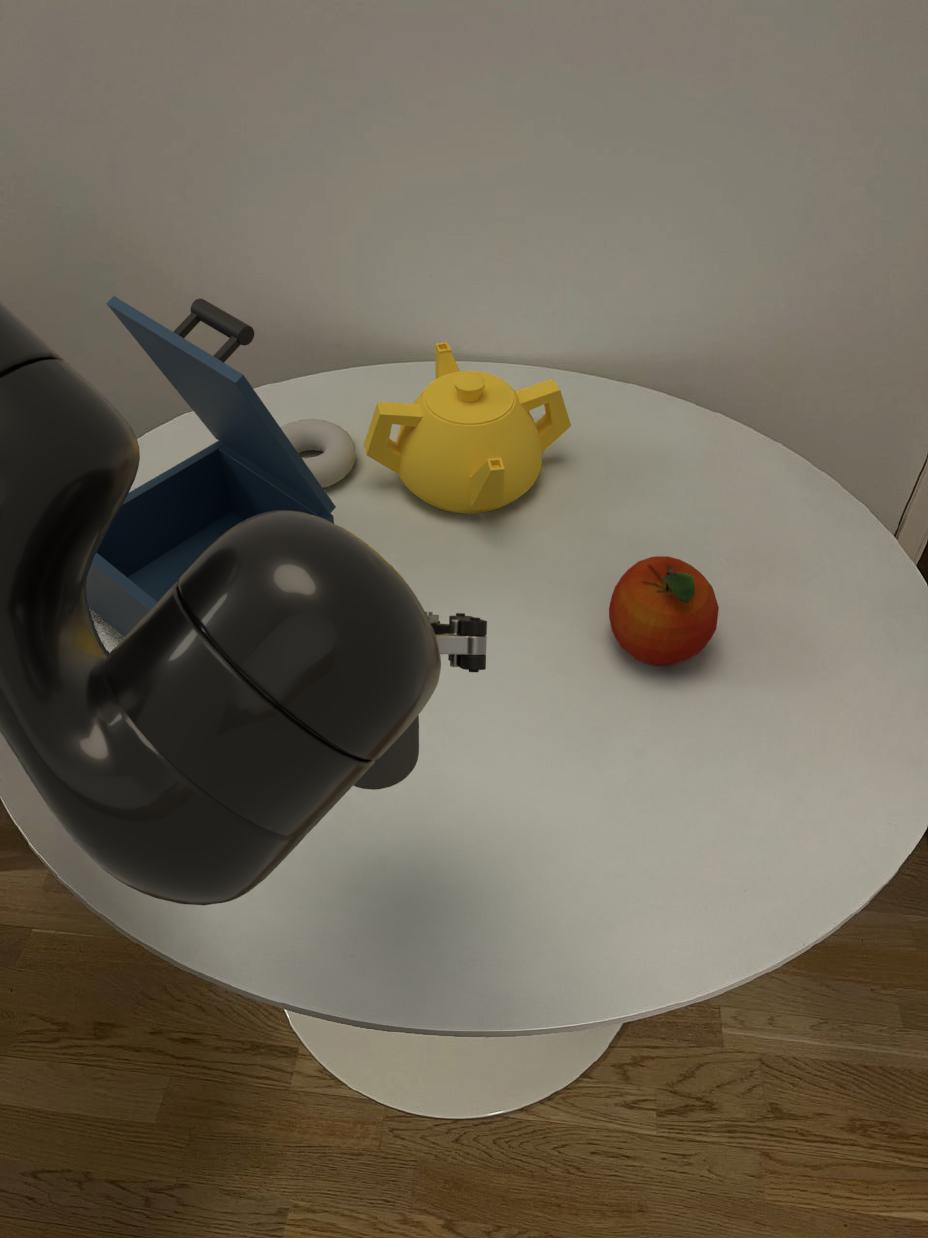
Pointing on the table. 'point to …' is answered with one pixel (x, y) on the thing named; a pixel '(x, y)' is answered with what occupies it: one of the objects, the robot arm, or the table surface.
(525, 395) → the teapot
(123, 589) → the cool box
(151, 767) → the robot arm
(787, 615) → the table surface
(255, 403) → the cool box lid
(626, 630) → the fruit
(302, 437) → the donut
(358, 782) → the bottle
